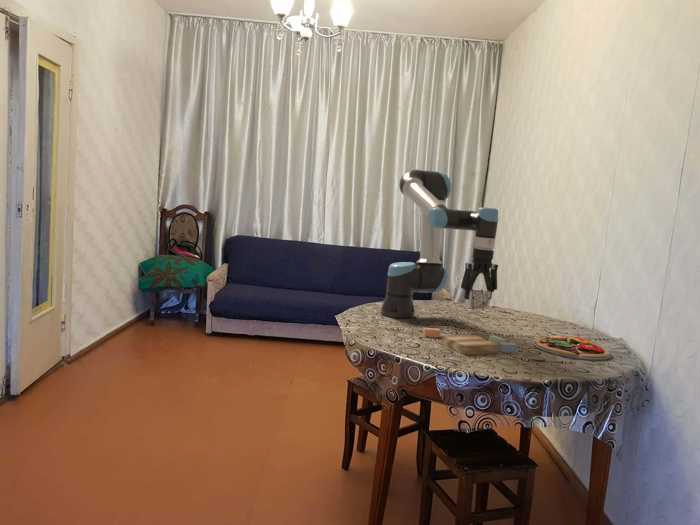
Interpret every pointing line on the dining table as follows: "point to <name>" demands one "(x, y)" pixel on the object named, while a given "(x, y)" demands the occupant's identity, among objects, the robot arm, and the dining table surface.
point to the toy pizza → (572, 348)
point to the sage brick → (496, 339)
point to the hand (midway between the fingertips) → (476, 307)
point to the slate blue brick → (507, 347)
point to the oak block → (469, 344)
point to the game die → (478, 299)
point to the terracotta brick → (431, 332)
